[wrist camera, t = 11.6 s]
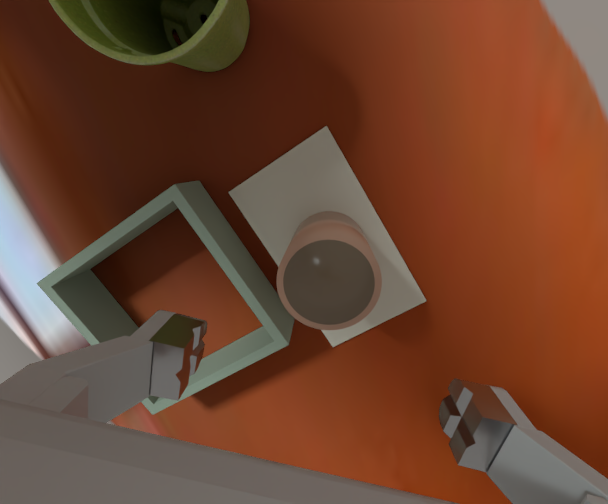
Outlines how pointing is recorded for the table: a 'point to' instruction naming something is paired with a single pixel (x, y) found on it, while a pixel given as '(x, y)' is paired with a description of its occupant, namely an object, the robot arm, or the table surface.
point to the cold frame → (227, 252)
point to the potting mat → (317, 198)
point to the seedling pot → (329, 273)
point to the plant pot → (160, 30)
